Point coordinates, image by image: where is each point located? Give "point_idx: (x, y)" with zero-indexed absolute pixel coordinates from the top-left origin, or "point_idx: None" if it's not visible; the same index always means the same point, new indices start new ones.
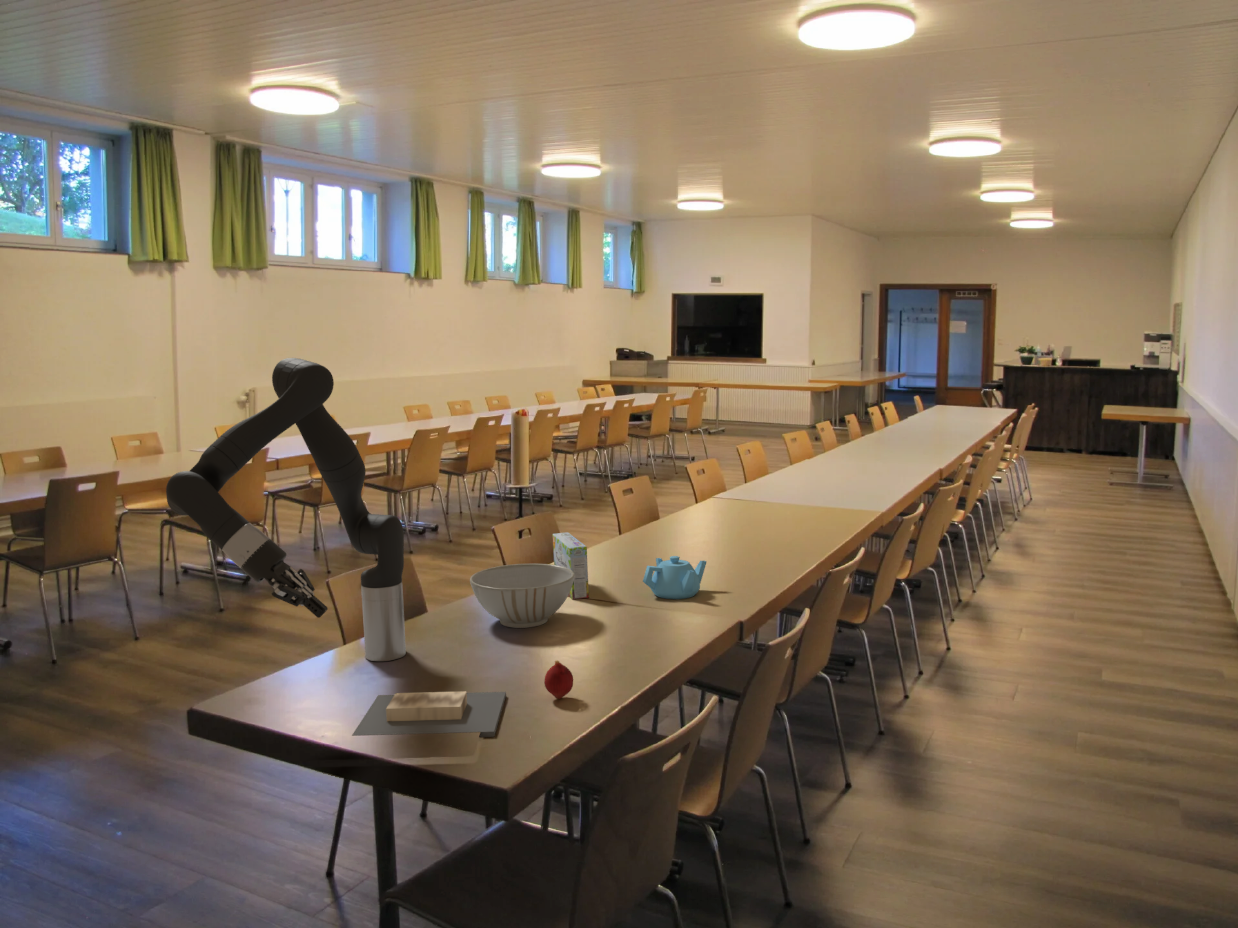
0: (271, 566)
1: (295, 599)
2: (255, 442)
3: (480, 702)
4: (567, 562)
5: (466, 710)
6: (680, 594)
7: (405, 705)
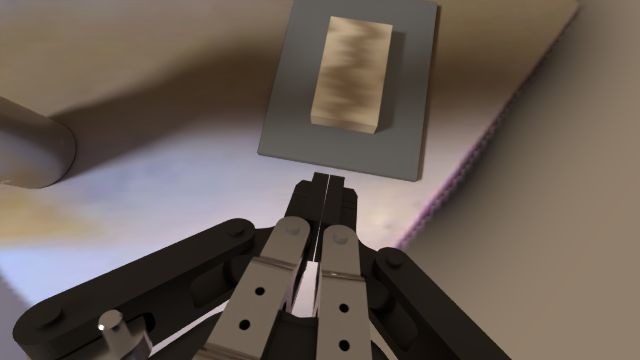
0: None
1: (391, 305)
2: None
3: (330, 14)
4: None
5: None
6: None
7: (370, 98)
